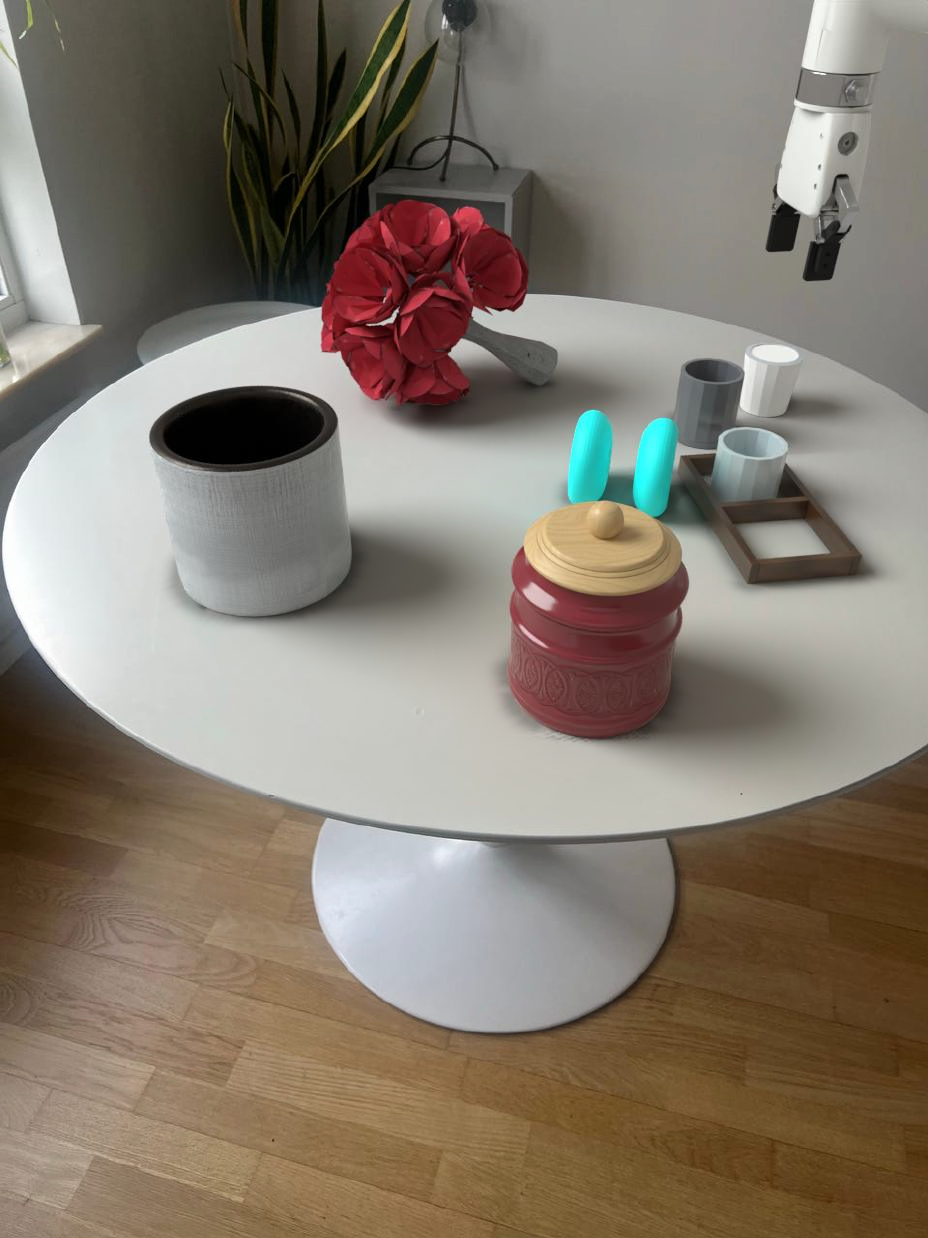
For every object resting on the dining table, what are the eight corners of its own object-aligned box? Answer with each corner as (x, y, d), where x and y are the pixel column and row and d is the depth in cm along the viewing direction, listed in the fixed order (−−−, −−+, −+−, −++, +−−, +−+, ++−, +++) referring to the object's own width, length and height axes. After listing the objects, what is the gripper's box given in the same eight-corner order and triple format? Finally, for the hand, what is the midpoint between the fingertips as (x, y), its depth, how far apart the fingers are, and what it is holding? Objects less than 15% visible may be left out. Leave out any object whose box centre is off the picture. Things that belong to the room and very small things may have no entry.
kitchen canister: (667, 647, 80) (699, 465, 69) (667, 758, 70) (705, 566, 59) (516, 631, 82) (524, 451, 71) (496, 737, 72) (501, 547, 61)
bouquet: (483, 394, 134) (288, 307, 120) (576, 246, 121) (370, 129, 107) (518, 479, 118) (298, 390, 104) (628, 319, 106) (396, 194, 92)
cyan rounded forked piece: (661, 538, 93) (676, 448, 87) (562, 524, 95) (569, 436, 89) (669, 487, 101) (683, 402, 94) (577, 476, 102) (585, 391, 96)
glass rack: (768, 473, 103) (774, 448, 101) (853, 582, 87) (862, 555, 85) (676, 480, 102) (680, 455, 100) (745, 592, 86) (751, 564, 84)
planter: (149, 609, 84) (107, 455, 74) (229, 516, 96) (203, 374, 86) (314, 639, 81) (293, 483, 71) (376, 539, 93) (366, 394, 83)
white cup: (771, 391, 119) (783, 338, 115) (802, 414, 114) (816, 360, 110) (724, 398, 117) (734, 345, 113) (753, 422, 112) (765, 367, 108)
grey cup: (719, 419, 113) (731, 356, 108) (740, 446, 108) (754, 381, 103) (663, 422, 112) (673, 359, 107) (682, 450, 107) (693, 385, 102)
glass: (758, 483, 101) (772, 425, 97) (784, 517, 96) (799, 456, 92) (698, 488, 100) (709, 429, 96) (720, 522, 95) (733, 461, 91)
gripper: (917, 105, 86) (866, 290, 97) (831, 74, 100) (795, 239, 110) (841, 108, 86) (798, 294, 96) (765, 75, 99) (735, 242, 110)
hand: (797, 264), depth 103 cm, fingers open, 9 cm apart
